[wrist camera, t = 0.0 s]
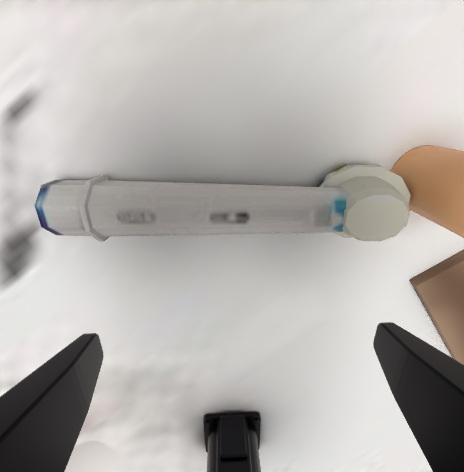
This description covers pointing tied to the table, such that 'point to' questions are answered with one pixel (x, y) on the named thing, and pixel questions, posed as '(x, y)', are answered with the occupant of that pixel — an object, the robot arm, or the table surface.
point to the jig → (445, 301)
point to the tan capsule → (435, 184)
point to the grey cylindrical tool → (228, 206)
